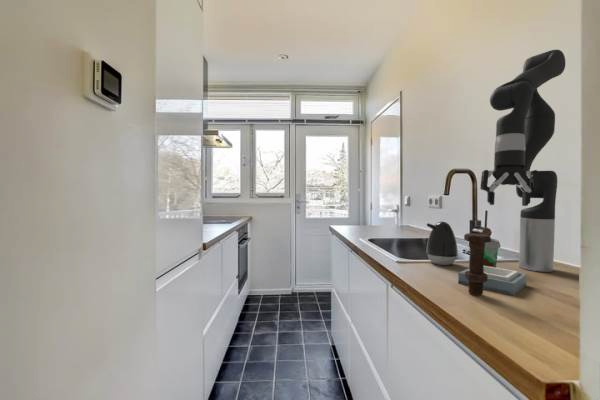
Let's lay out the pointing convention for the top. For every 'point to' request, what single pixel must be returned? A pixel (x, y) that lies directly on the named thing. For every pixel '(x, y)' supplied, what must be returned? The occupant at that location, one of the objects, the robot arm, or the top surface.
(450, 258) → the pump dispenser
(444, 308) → the top surface
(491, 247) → the food container
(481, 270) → the bolt
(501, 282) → the socket tray
